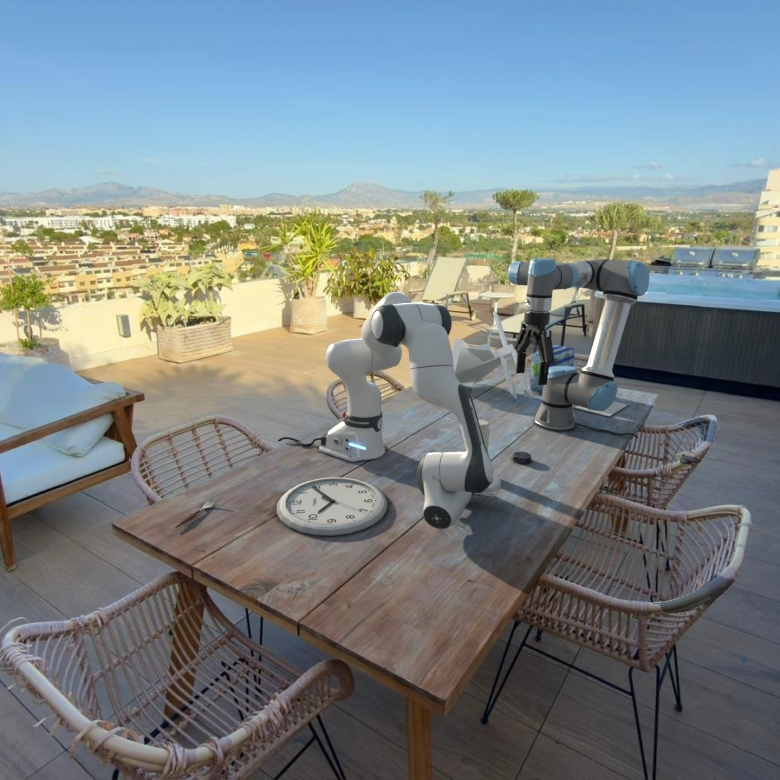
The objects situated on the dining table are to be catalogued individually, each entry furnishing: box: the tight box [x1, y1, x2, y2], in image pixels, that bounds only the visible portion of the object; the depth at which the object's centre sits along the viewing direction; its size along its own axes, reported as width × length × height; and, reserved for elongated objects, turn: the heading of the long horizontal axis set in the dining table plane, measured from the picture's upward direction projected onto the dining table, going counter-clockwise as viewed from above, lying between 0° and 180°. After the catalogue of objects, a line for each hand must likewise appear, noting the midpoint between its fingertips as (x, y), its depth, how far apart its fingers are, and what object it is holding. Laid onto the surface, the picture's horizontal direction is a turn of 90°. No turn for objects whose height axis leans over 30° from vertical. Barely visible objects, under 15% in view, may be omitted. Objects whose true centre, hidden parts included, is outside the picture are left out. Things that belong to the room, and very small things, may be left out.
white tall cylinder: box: [478, 419, 491, 453], centre depth 160 cm, size 5×5×17 cm
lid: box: [512, 451, 532, 465], centre depth 172 cm, size 6×6×2 cm
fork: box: [174, 492, 220, 529], centre depth 137 cm, size 3×16×2 cm, turn 160°
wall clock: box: [276, 476, 388, 537], centre depth 142 cm, size 30×2×30 cm
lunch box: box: [529, 345, 575, 394], centre depth 245 cm, size 26×11×21 cm, turn 134°
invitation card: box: [573, 400, 629, 418], centre depth 226 cm, size 21×1×15 cm
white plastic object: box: [451, 310, 531, 400], centre depth 245 cm, size 37×45×31 cm
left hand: (470, 469), depth 151 cm, fingers open, 8 cm apart
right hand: (530, 378), depth 164 cm, fingers open, 13 cm apart
